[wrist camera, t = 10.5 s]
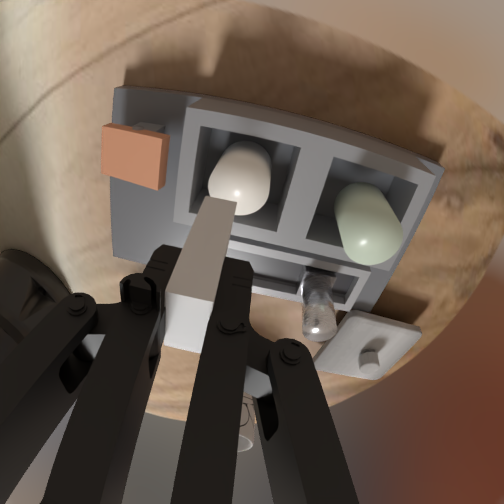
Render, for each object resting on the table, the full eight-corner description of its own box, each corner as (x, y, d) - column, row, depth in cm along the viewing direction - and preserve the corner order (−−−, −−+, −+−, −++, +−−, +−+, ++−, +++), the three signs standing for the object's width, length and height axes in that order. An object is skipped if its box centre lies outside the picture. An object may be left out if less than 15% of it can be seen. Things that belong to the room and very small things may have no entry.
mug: (236, 403, 47) (228, 460, 38) (186, 387, 45) (172, 444, 37) (270, 372, 40) (265, 440, 32) (211, 352, 39) (196, 422, 30)
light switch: (347, 294, 31) (354, 332, 27) (419, 315, 32) (431, 349, 28) (308, 350, 37) (309, 385, 33) (374, 363, 38) (380, 396, 34)
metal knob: (295, 286, 29) (296, 339, 24) (305, 262, 27) (308, 315, 22) (324, 292, 29) (330, 344, 24) (335, 269, 27) (344, 321, 22)
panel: (119, 247, 30) (95, 282, 26) (123, 85, 21) (86, 97, 16) (367, 302, 31) (376, 342, 27) (437, 162, 22) (468, 190, 18)
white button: (216, 182, 23) (204, 208, 19) (225, 136, 21) (213, 153, 17) (265, 193, 23) (261, 221, 20) (277, 147, 21) (275, 167, 17)
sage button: (326, 222, 21) (333, 257, 18) (344, 175, 19) (356, 203, 16) (373, 235, 21) (387, 270, 18) (393, 190, 19) (413, 221, 16)
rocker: (112, 168, 22) (101, 174, 21) (114, 120, 20) (102, 124, 18) (167, 185, 21) (157, 192, 20) (172, 132, 19) (162, 137, 18)
